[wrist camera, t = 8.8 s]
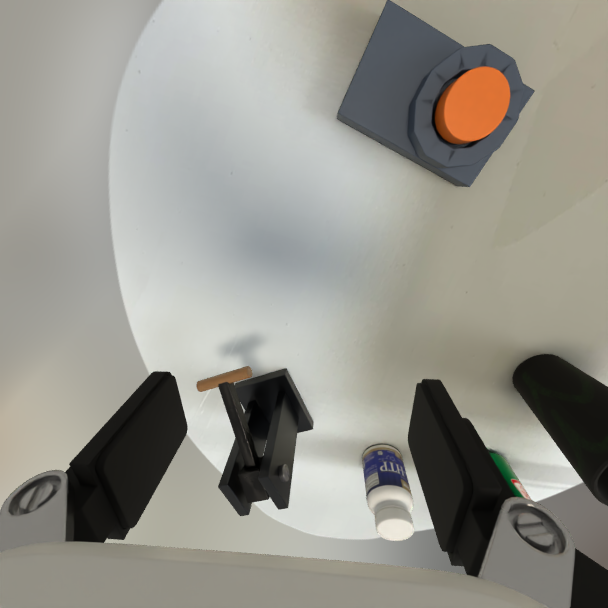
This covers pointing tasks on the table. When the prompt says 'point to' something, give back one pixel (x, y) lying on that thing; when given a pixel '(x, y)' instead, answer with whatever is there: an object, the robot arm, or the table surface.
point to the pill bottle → (388, 492)
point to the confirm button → (472, 105)
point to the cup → (570, 415)
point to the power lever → (239, 430)
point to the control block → (423, 94)
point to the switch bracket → (268, 437)
